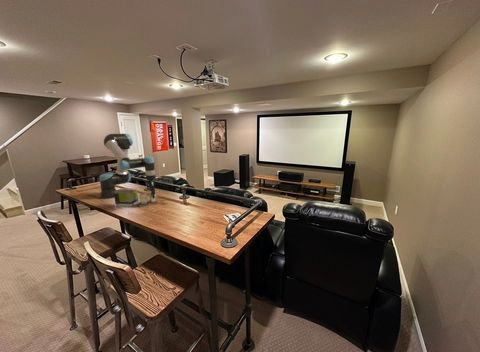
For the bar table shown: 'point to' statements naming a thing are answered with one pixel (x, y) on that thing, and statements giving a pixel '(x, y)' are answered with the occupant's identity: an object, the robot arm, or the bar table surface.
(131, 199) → the tea box
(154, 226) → the bar table surface
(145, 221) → the bar table surface
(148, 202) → the grey brown flat frame
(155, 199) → the beige wooden block
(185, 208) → the bar table surface
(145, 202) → the tan block
